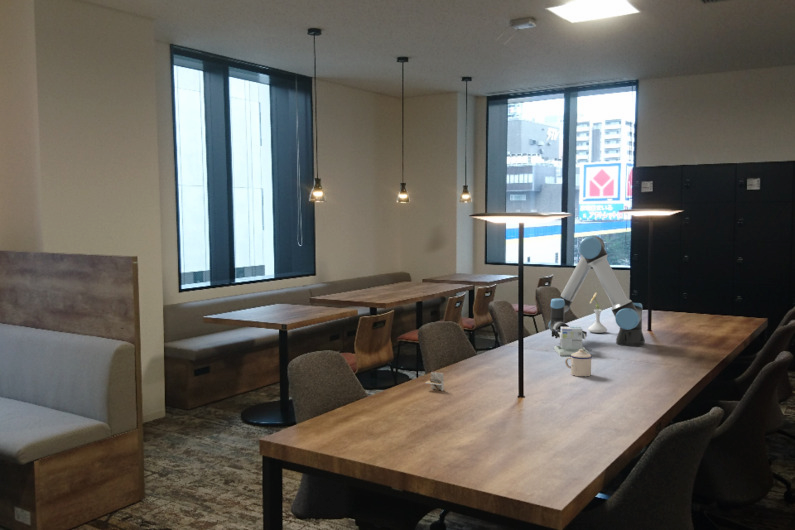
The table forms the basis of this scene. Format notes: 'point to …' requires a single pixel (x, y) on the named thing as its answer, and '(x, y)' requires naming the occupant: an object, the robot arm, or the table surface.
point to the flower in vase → (597, 320)
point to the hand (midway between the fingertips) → (573, 336)
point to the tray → (567, 351)
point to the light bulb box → (571, 338)
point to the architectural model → (436, 381)
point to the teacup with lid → (580, 363)
